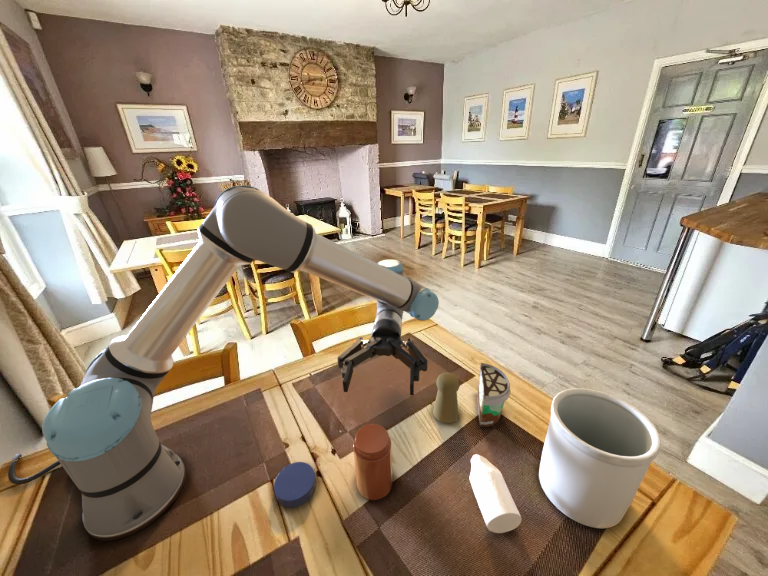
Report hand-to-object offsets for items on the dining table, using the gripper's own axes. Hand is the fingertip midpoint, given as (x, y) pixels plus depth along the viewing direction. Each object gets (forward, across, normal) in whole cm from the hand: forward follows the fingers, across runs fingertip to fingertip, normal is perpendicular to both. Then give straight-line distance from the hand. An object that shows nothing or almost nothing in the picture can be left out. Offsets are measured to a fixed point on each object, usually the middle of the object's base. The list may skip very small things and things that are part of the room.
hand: (378, 388), depth 63 cm
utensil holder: (+8, -38, -15) cm, 41 cm away
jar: (+10, 0, -14) cm, 17 cm away
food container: (-9, -26, -15) cm, 31 cm away
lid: (+12, +15, -13) cm, 23 cm away
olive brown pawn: (-8, -15, -15) cm, 22 cm away
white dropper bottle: (+11, -21, -15) cm, 28 cm away
